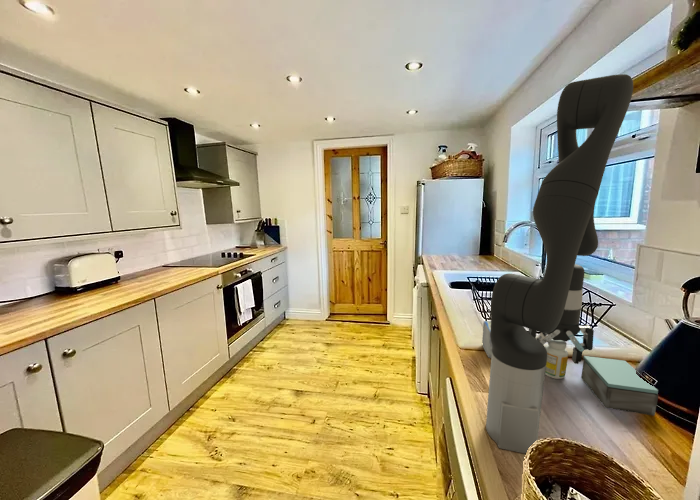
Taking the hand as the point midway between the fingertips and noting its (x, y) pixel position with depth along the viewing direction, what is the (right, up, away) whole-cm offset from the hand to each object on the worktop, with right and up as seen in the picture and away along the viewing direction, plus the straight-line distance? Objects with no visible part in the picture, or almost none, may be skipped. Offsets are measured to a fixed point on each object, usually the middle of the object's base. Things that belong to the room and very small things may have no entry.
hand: (556, 359), depth 80 cm
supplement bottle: (0, -4, +1) cm, 4 cm away
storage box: (+8, -6, -8) cm, 13 cm away
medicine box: (-12, -2, +12) cm, 17 cm away
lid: (+8, 0, -9) cm, 12 cm away
